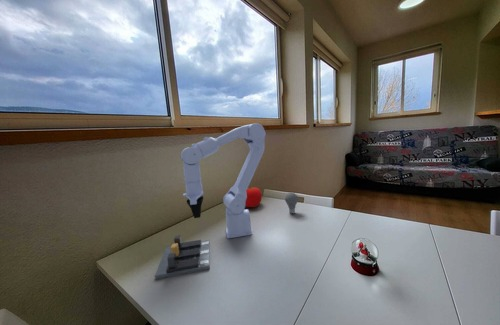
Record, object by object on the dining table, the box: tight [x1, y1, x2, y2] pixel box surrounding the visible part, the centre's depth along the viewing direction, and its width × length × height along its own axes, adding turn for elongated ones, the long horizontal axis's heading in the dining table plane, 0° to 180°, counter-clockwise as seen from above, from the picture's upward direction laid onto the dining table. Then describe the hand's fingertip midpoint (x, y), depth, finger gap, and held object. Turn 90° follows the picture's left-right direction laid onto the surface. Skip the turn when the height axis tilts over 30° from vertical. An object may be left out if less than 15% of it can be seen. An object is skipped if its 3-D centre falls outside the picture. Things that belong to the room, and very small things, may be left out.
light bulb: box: [284, 192, 299, 214], centre depth 94 cm, size 6×6×10 cm
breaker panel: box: [154, 234, 211, 280], centre depth 64 cm, size 15×15×5 cm
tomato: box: [245, 186, 263, 208], centre depth 107 cm, size 11×12×10 cm
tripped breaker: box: [171, 243, 179, 256], centre depth 63 cm, size 2×2×3 cm
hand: (197, 217), depth 73 cm, fingers closed
